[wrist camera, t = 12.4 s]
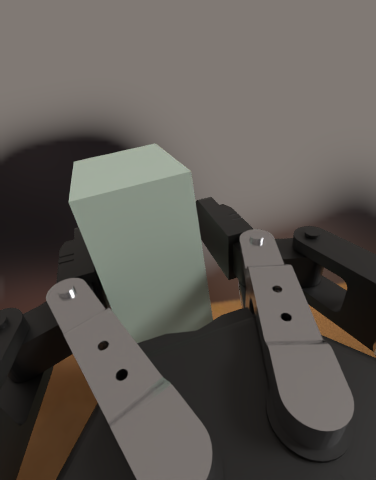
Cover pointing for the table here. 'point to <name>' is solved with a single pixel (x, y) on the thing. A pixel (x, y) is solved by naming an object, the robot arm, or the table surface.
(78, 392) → the table surface
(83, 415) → the table surface
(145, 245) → the tall mint green block
